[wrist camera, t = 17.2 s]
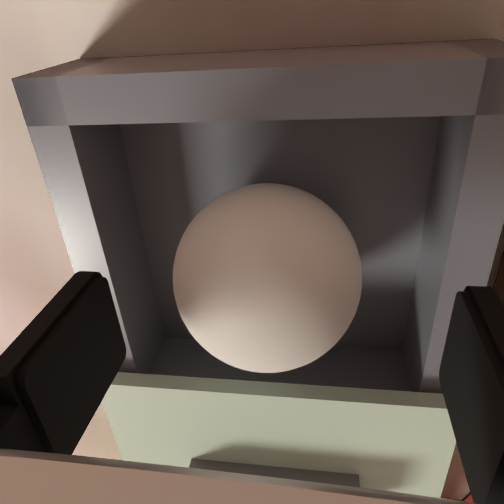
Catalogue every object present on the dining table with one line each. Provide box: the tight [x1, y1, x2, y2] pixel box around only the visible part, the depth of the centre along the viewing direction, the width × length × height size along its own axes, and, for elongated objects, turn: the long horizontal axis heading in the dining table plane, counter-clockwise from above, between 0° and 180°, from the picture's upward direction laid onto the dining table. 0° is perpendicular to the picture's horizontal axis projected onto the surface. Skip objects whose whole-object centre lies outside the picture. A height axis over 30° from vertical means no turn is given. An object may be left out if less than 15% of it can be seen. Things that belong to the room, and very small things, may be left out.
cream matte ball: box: [173, 183, 362, 373], centre depth 13 cm, size 6×6×6 cm
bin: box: [12, 39, 504, 394], centre depth 18 cm, size 12×25×4 cm, turn 4°
